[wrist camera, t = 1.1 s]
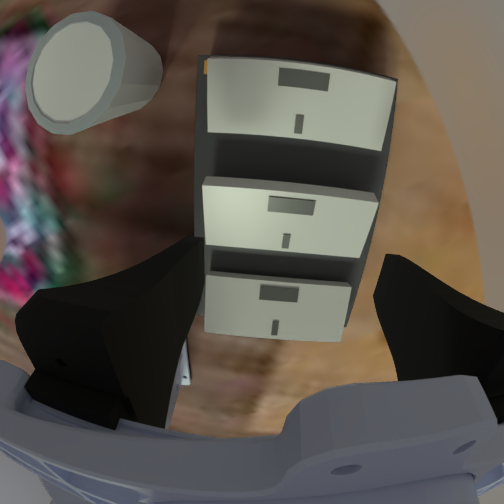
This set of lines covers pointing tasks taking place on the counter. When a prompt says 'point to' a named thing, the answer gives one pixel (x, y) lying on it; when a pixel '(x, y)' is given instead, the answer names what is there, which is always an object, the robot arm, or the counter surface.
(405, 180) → the counter surface
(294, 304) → the pale rectangular block
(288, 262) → the filing cabinet
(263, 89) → the cabinet drawer
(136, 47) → the shot glass
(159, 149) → the counter surface
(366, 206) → the filing cabinet drawer
